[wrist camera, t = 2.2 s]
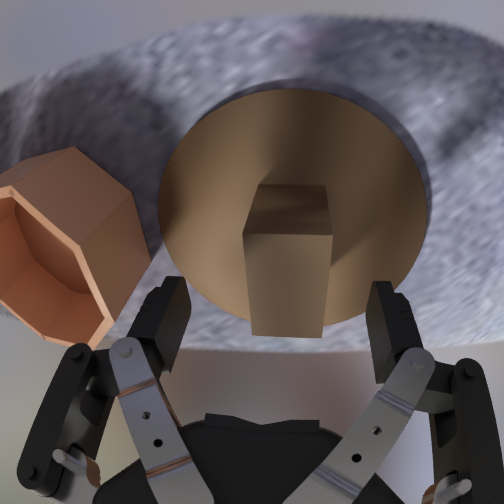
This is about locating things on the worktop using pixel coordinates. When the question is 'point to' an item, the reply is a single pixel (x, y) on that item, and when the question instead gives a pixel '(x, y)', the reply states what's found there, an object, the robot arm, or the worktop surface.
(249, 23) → the worktop surface
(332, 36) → the worktop surface
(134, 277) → the bowl
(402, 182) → the lid
